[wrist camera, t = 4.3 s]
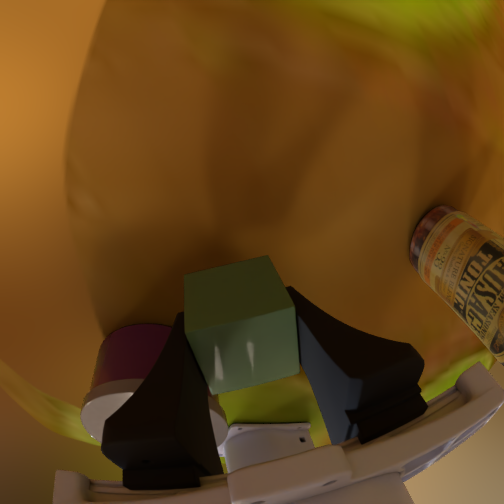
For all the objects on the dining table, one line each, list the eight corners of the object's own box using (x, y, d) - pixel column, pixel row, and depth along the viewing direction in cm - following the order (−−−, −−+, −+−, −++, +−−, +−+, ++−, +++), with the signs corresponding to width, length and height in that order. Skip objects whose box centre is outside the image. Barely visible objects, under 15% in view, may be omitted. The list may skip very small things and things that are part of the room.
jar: (233, 334, 20) (250, 403, 15) (200, 407, 24) (207, 464, 18) (97, 305, 17) (74, 375, 12) (95, 389, 20) (86, 447, 15)
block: (267, 254, 14) (295, 305, 10) (277, 318, 16) (300, 373, 12) (183, 274, 13) (184, 332, 10) (204, 336, 15) (212, 395, 12)
